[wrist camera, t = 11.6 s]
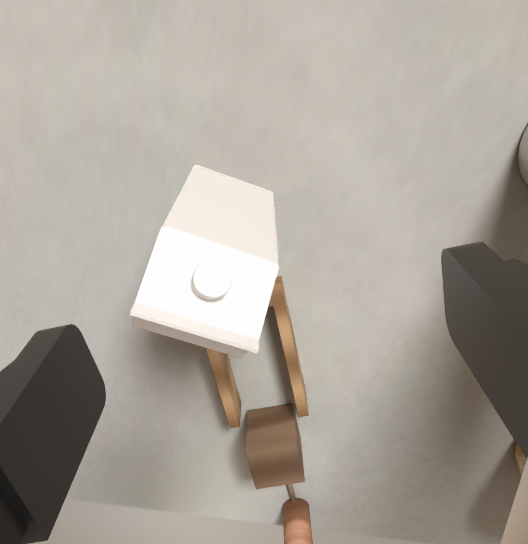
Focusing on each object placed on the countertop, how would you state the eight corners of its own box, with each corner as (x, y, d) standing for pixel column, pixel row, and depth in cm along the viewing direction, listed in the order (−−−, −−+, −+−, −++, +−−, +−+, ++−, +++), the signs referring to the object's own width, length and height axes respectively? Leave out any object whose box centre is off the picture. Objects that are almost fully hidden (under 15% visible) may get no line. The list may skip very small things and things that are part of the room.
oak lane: (198, 291, 46) (193, 310, 43) (281, 276, 46) (282, 294, 42) (232, 404, 52) (230, 428, 49) (305, 392, 52) (308, 415, 48)
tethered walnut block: (246, 410, 53) (245, 453, 47) (292, 403, 52) (296, 445, 47) (278, 518, 60) (279, 566, 55) (318, 513, 60) (323, 560, 54)
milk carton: (246, 261, 45) (237, 400, 28) (171, 236, 44) (114, 365, 27) (273, 191, 42) (282, 297, 25) (194, 163, 41) (146, 254, 24)
